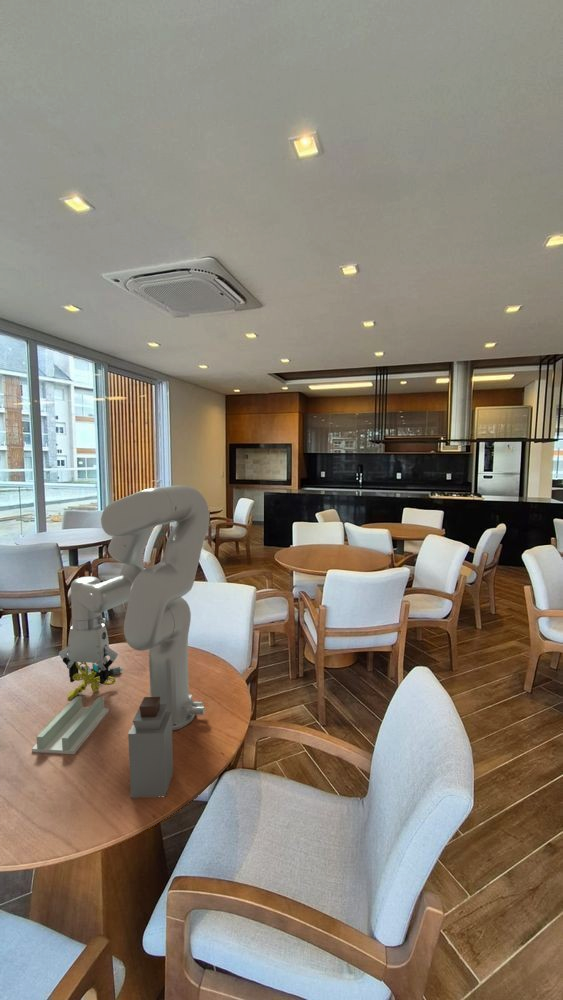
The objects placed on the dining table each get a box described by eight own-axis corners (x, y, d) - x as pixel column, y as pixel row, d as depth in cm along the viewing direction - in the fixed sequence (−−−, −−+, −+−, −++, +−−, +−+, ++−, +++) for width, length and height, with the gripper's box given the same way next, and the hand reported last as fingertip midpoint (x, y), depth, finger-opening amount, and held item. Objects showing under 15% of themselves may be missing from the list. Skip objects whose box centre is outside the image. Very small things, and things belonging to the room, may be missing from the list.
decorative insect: (93, 706, 120) (116, 678, 121) (91, 713, 117) (115, 684, 118) (54, 683, 117) (79, 655, 118) (51, 690, 113) (76, 660, 115)
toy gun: (124, 675, 128) (123, 660, 128) (81, 684, 123) (80, 668, 123) (121, 661, 137) (121, 647, 137) (81, 669, 132) (80, 654, 132)
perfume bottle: (173, 771, 89) (170, 691, 87) (165, 797, 82) (162, 711, 80) (141, 772, 89) (138, 692, 87) (130, 798, 82) (127, 712, 80)
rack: (108, 711, 110) (108, 697, 109) (74, 754, 94) (73, 738, 93) (72, 709, 110) (71, 696, 110) (32, 751, 95) (31, 736, 94)
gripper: (123, 617, 119) (124, 675, 121) (65, 614, 121) (67, 671, 123) (110, 628, 112) (112, 689, 114) (48, 625, 113) (51, 686, 115)
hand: (89, 680), depth 118 cm, fingers closed on decorative insect, 8 cm apart
